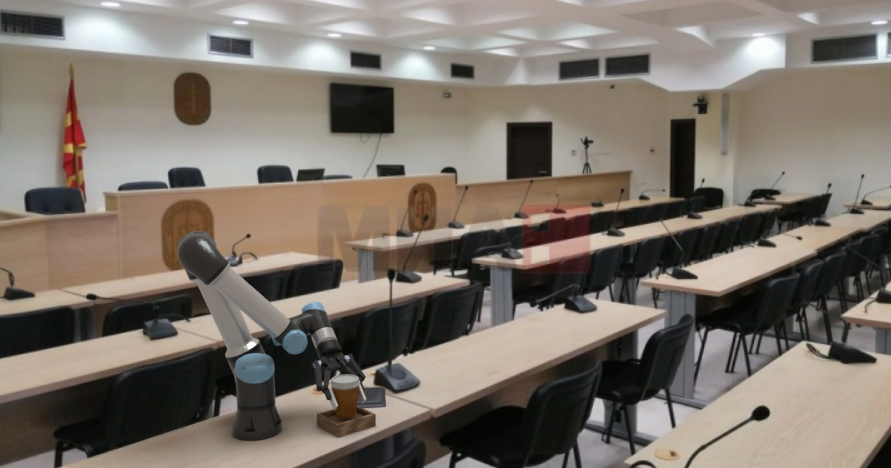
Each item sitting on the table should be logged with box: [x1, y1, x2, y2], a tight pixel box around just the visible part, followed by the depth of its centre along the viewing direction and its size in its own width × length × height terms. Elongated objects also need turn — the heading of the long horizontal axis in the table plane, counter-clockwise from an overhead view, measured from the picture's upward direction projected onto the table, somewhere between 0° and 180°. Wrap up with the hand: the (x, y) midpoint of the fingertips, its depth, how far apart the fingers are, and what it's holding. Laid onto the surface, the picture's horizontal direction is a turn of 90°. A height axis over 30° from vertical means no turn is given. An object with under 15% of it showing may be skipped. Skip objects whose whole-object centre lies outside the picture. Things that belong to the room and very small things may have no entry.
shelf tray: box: [316, 405, 377, 438], centre depth 230 cm, size 14×13×4 cm
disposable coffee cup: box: [329, 374, 360, 419], centre depth 229 cm, size 10×10×12 cm
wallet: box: [357, 386, 387, 409], centre depth 255 cm, size 20×2×15 cm
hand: (350, 404), depth 226 cm, fingers closed on disposable coffee cup, 9 cm apart
